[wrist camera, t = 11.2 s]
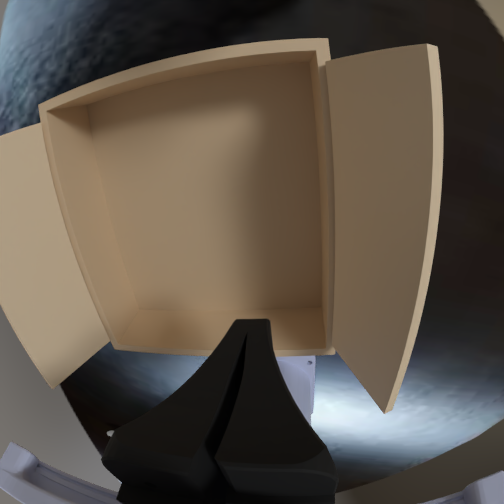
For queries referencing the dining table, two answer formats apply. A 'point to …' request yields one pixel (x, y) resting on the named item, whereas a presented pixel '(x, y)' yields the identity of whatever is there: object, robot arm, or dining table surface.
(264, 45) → the carton
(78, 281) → the far flap
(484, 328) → the dining table surface
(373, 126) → the near flap
